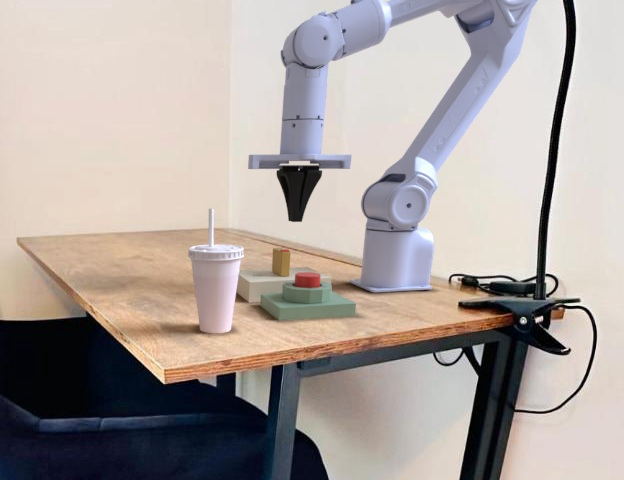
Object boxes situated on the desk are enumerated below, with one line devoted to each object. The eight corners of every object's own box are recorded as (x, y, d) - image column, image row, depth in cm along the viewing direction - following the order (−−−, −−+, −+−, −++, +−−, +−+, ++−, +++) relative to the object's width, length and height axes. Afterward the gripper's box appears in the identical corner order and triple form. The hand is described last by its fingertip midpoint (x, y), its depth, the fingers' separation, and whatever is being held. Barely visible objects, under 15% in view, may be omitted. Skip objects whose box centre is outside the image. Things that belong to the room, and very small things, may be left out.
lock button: (313, 284, 74) (314, 271, 73) (323, 289, 71) (324, 276, 70) (290, 285, 73) (291, 272, 73) (299, 290, 70) (300, 277, 70)
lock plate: (306, 285, 88) (307, 265, 87) (330, 298, 79) (331, 276, 78) (233, 289, 86) (233, 269, 85) (249, 303, 78) (249, 280, 77)
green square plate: (329, 301, 77) (331, 277, 76) (355, 316, 70) (357, 289, 69) (260, 305, 76) (260, 280, 75) (279, 321, 69) (280, 293, 68)
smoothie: (190, 321, 69) (189, 207, 65) (241, 322, 69) (244, 205, 64) (187, 336, 63) (185, 211, 59) (243, 337, 63) (246, 210, 58)
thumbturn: (271, 271, 84) (272, 246, 82) (280, 271, 84) (281, 246, 83) (280, 276, 80) (282, 250, 79) (289, 276, 80) (290, 250, 79)
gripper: (260, 118, 72) (255, 224, 76) (365, 119, 74) (354, 223, 78) (246, 122, 78) (241, 220, 83) (342, 123, 80) (333, 218, 85)
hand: (295, 221), depth 81 cm, fingers closed
